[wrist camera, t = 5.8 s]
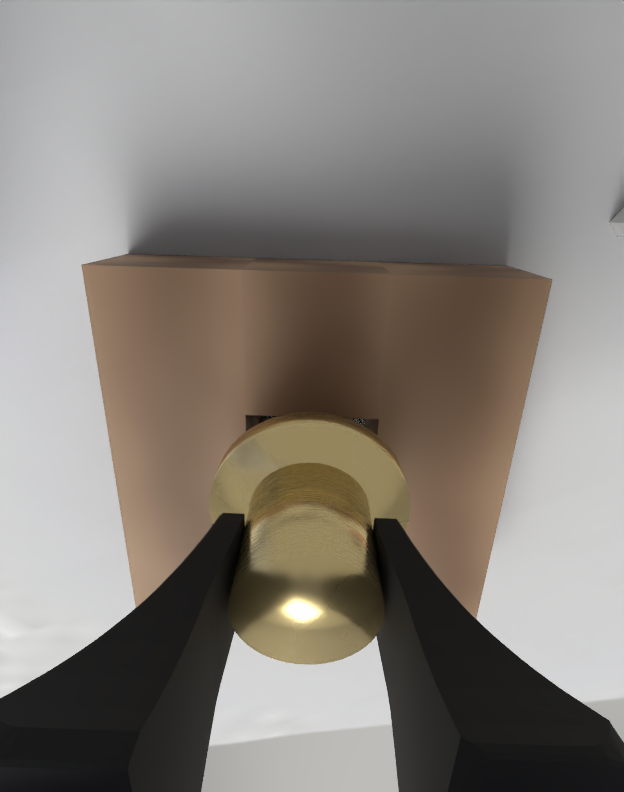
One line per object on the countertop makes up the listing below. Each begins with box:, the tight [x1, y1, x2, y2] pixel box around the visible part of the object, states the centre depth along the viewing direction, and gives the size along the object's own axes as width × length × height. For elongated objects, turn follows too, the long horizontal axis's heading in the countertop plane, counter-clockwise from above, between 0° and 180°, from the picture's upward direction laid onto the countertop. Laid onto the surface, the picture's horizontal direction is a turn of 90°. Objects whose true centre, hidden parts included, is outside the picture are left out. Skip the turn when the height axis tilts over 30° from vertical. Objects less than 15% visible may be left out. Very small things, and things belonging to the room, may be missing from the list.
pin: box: [209, 412, 410, 664], centre depth 14 cm, size 6×6×7 cm
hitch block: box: [82, 254, 552, 619], centre depth 18 cm, size 14×14×4 cm
